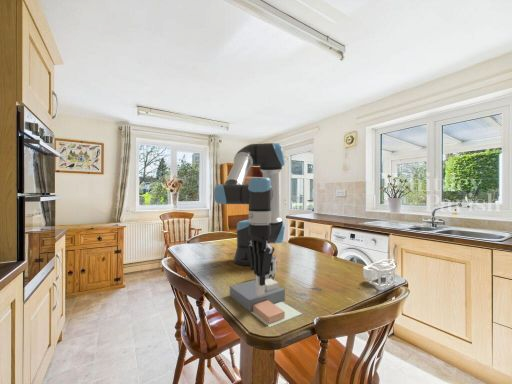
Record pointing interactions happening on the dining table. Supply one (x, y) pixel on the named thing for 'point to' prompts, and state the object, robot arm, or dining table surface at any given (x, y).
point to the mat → (289, 314)
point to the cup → (272, 269)
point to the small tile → (270, 284)
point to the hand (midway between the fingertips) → (260, 293)
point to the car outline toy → (380, 273)
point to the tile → (268, 311)
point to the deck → (248, 297)
